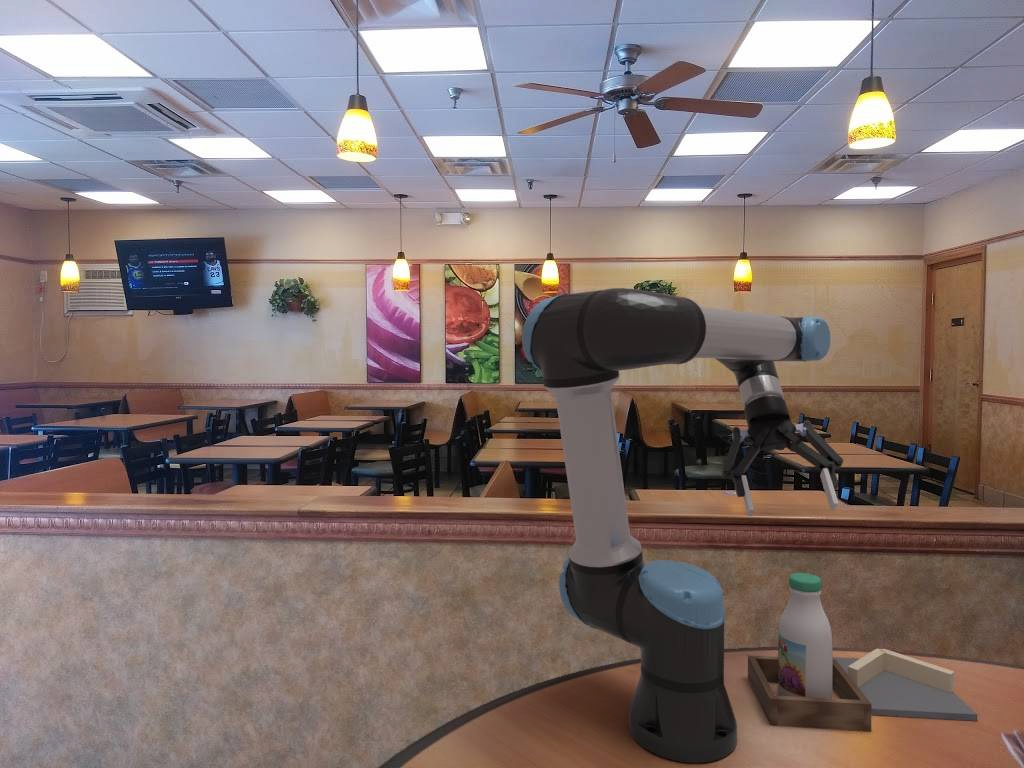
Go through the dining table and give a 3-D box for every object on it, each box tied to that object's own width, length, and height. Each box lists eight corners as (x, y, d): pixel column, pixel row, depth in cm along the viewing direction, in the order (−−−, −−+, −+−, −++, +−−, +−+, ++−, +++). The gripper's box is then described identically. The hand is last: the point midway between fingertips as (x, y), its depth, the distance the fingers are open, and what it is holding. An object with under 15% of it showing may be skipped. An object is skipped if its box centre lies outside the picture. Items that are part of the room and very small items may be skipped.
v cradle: (866, 714, 97) (866, 688, 97) (826, 662, 114) (826, 640, 114) (980, 721, 95) (980, 694, 95) (922, 666, 112) (922, 644, 112)
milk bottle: (821, 691, 104) (821, 569, 103) (840, 717, 96) (841, 585, 96) (771, 689, 105) (771, 568, 104) (787, 715, 97) (787, 584, 96)
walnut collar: (769, 725, 94) (769, 698, 94) (747, 678, 108) (747, 655, 108) (871, 731, 93) (871, 704, 92) (835, 683, 106) (835, 659, 106)
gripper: (829, 408, 123) (864, 512, 111) (695, 421, 127) (715, 523, 115) (838, 386, 117) (876, 494, 105) (697, 401, 120) (718, 507, 108)
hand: (792, 510), depth 110 cm, fingers open, 13 cm apart
